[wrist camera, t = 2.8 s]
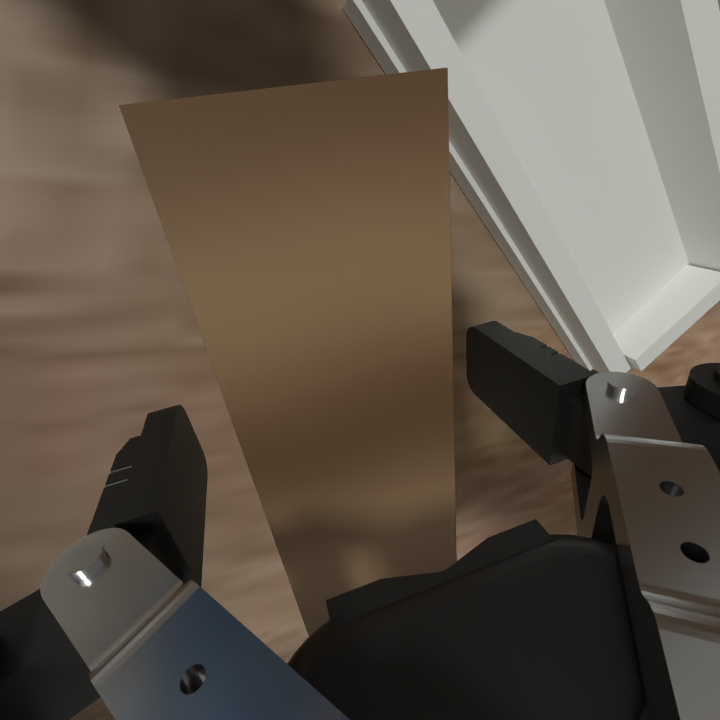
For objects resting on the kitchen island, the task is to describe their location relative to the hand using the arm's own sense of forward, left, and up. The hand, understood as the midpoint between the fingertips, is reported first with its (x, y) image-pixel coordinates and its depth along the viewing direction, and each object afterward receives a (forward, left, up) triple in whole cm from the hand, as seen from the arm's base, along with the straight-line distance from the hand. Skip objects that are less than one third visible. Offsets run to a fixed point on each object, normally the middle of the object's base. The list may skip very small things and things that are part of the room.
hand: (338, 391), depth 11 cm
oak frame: (-1, 0, -7) cm, 7 cm away
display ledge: (+12, -4, -6) cm, 15 cm away
